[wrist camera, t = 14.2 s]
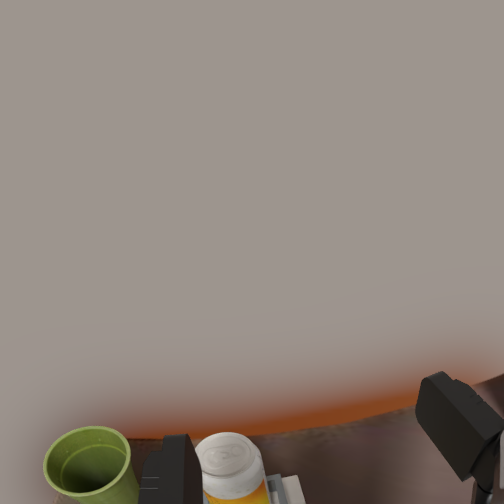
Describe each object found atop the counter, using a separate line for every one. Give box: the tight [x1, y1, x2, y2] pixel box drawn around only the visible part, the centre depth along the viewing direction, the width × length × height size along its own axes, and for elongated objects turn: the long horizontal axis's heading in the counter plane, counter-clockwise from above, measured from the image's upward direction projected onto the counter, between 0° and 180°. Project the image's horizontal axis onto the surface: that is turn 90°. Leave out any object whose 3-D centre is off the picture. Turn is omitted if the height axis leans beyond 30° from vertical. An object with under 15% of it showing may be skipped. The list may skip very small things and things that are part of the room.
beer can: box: [195, 432, 272, 504], centre depth 25 cm, size 6×6×15 cm
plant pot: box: [43, 426, 140, 504], centre depth 29 cm, size 12×12×11 cm
